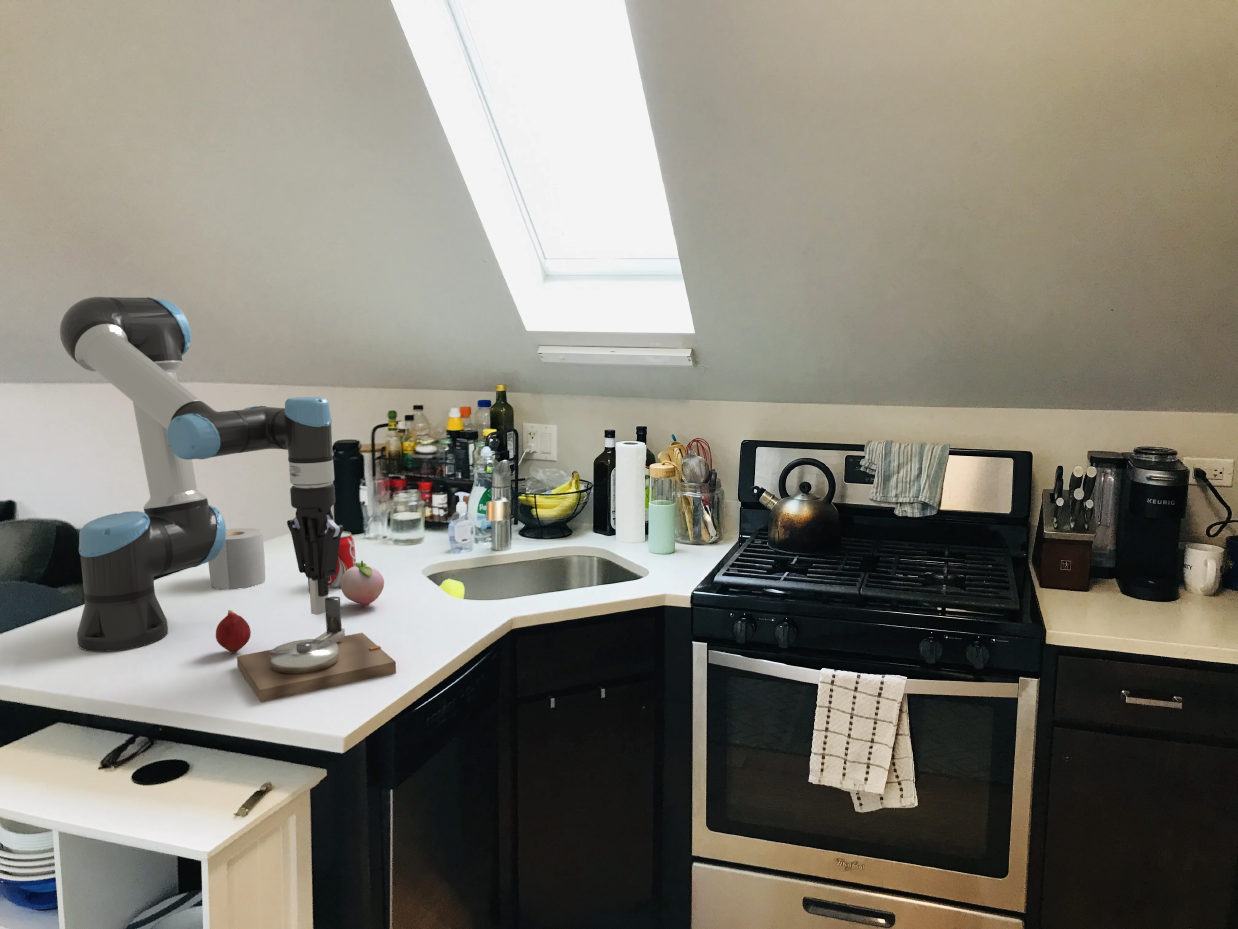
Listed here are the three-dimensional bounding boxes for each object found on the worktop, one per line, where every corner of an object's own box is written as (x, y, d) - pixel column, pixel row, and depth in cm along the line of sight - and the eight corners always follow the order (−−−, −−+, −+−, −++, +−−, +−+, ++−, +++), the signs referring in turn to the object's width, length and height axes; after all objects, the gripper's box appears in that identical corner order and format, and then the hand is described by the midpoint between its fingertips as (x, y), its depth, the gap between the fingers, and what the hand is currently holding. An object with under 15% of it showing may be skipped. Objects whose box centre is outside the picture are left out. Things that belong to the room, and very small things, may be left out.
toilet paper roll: (267, 586, 209) (264, 536, 207) (210, 592, 204) (206, 541, 202) (264, 573, 220) (261, 526, 218) (209, 579, 215) (206, 530, 213)
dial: (317, 675, 149) (314, 628, 148) (256, 670, 151) (253, 624, 150) (366, 640, 165) (364, 597, 164) (311, 636, 167) (308, 594, 166)
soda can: (351, 589, 206) (348, 537, 204) (320, 589, 206) (317, 537, 204) (360, 581, 212) (358, 530, 211) (330, 581, 213) (327, 530, 211)
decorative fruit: (334, 605, 194) (332, 559, 192) (371, 598, 199) (369, 553, 197) (353, 616, 187) (351, 568, 185) (390, 608, 192) (388, 561, 190)
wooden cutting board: (260, 702, 144) (259, 688, 144) (237, 667, 159) (236, 654, 159) (396, 672, 156) (395, 660, 156) (362, 642, 171) (362, 631, 170)
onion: (256, 646, 169) (253, 605, 168) (244, 658, 163) (241, 614, 162) (224, 647, 169) (221, 605, 168) (211, 658, 163) (208, 615, 162)
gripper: (271, 484, 163) (279, 611, 167) (318, 490, 156) (326, 624, 160) (306, 478, 169) (314, 601, 173) (353, 484, 162) (360, 613, 166)
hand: (319, 612), depth 166 cm, fingers closed
